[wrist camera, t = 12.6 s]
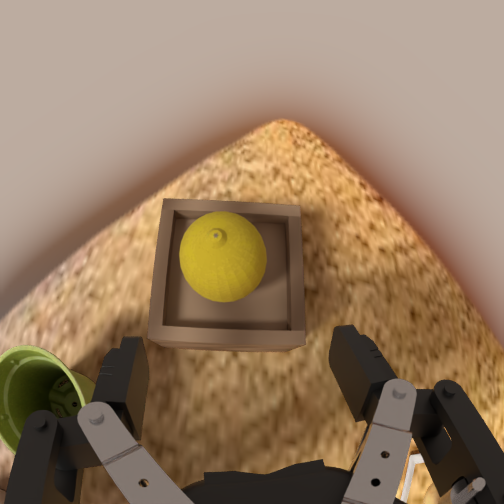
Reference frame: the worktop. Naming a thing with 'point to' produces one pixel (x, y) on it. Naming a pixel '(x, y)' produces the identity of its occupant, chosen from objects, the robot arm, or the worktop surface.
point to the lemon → (222, 256)
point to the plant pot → (36, 389)
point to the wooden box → (237, 312)
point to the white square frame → (431, 493)
